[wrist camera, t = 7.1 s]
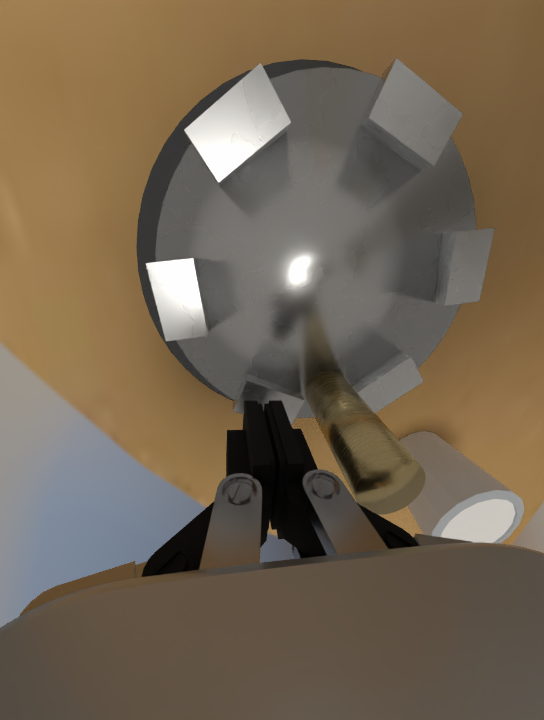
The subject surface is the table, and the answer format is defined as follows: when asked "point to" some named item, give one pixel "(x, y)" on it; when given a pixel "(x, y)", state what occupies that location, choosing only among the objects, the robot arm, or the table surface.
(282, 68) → the dark grey round base
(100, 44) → the table surface
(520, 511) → the grey white-topped cylinder
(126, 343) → the table surface
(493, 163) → the table surface
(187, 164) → the grey tabbed disc
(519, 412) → the table surface
